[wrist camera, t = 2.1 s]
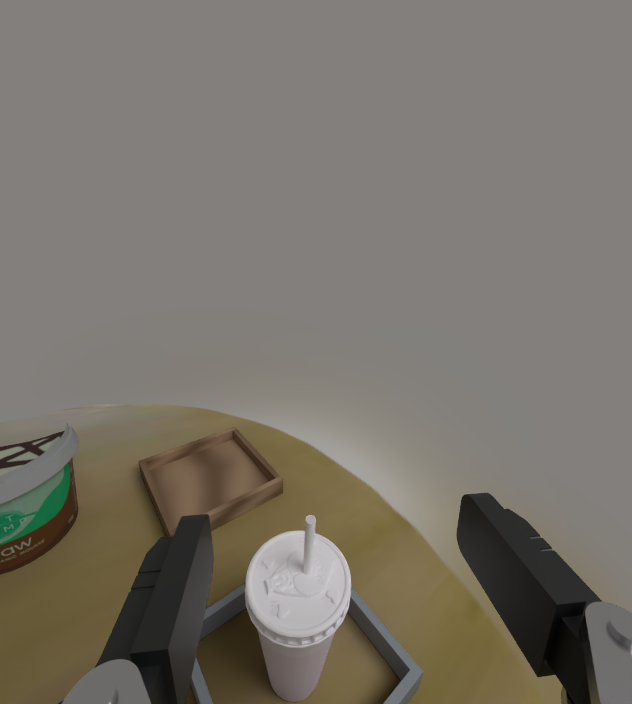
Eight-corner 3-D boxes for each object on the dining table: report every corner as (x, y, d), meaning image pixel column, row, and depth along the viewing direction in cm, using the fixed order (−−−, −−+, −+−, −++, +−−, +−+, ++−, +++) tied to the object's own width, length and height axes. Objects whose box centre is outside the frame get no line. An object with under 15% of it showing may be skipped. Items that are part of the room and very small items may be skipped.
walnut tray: (172, 551, 31) (170, 535, 30) (141, 474, 40) (138, 461, 39) (282, 492, 38) (283, 479, 38) (235, 438, 47) (234, 426, 46)
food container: (-86, 630, 24) (-150, 532, 21) (-74, 566, 29) (-126, 475, 25) (106, 536, 32) (84, 452, 28) (93, 497, 36) (73, 419, 33)
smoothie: (356, 700, 22) (382, 553, 17) (261, 755, 20) (258, 603, 14) (317, 603, 27) (329, 469, 22) (240, 637, 25) (231, 495, 20)
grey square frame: (262, 895, 16) (261, 881, 15) (178, 646, 24) (175, 629, 24) (418, 688, 23) (423, 672, 22) (310, 553, 32) (311, 538, 31)
